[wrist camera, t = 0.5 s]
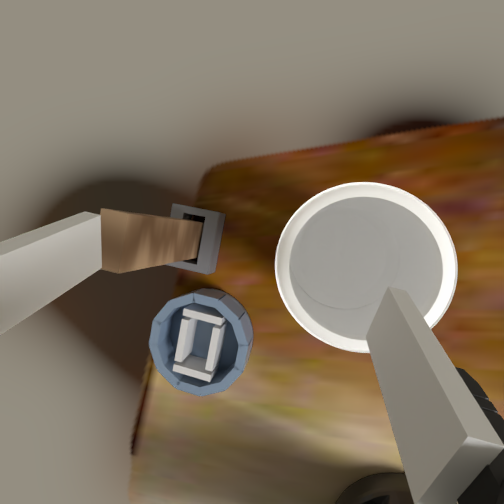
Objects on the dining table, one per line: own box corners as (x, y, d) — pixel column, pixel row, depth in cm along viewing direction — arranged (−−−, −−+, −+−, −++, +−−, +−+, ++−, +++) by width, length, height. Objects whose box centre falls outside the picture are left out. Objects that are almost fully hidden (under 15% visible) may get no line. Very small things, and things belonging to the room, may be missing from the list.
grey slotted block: (214, 271, 35) (207, 274, 32) (172, 261, 36) (162, 263, 33) (225, 214, 34) (219, 212, 32) (181, 205, 35) (172, 203, 33)
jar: (271, 266, 33) (243, 290, 19) (321, 188, 32) (334, 148, 17) (351, 319, 32) (390, 389, 17) (408, 240, 31) (502, 244, 16)
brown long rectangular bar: (203, 256, 35) (118, 273, 19) (187, 253, 35) (92, 267, 20) (209, 223, 35) (128, 213, 19) (193, 220, 35) (101, 207, 19)
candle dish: (243, 388, 35) (235, 407, 31) (160, 363, 37) (142, 378, 33) (261, 300, 34) (255, 308, 30) (175, 279, 36) (158, 284, 32)
